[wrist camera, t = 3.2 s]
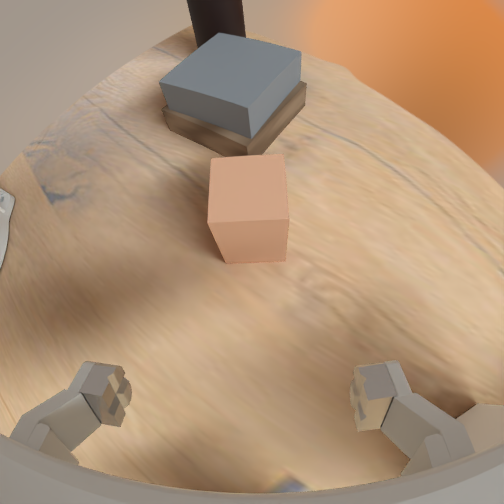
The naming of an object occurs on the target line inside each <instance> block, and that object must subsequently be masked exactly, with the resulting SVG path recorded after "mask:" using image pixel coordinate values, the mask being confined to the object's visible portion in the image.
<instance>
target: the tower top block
mask: <svg viewBox="0 0 504 504" xmlns="http://www.w3.org/2000/svg"><path fill="white" fill-rule="evenodd" d="M300 74H301V52H300V51H297V50H294V49H290V48H286V47H283V46H279V45H275V44H271V43H267V42H263V41H259V40H254V39H250V38H245V37H240V36H235V35H229V34H224V33H218V34H216V35H215V36H214V37H212V38H211V39H210V40H208V41H207V42H206V43H204V44H203V45H202V46H201V47H199V48H198V49H197V50H195V51H194V52H193V53H192V54H191V55H189V56H188V57H187V58H186V59H184V60H183V61H182V62H181V63H180V64H178V65H177V66H176V67H175V68H174V69H173V70H171V71H170V72H169V73H168V74H167V75H166V76H165V77H164V78H162V79H161V80H160V81H159V84H160V86H161V89H162V92H163V94H164V97H165V99H166V102H167V105H168V107H169V109H170V110H173V111H176V112H179V113H182V114H185V115H188V116H191V117H194V118H197V119H199V120H202V121H205V122H208V123H211V124H213V125H216V126H219V127H221V128H224V129H227V130H229V131H232V132H235V133H237V134H240V135H242V136H245V137H247V138H250V139H252V138H253V137H254V135H255V134H256V133H257V132H258V130H259V129H260V128H261V127H262V126H263V124H264V123H265V122H266V121H267V119H268V118H269V117H270V116H271V115H272V113H273V112H274V111H275V110H276V109H277V107H278V106H279V105H280V104H281V103H282V101H283V100H284V99H285V98H286V97H287V95H288V94H289V93H290V92H291V91H292V90H293V88H294V87H295V86H296V85H297V84H298V83H299V82H300Z"/></svg>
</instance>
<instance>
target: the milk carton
mask: <svg viewBox="0 0 504 504" xmlns="http://www.w3.org/2000/svg"><path fill="white" fill-rule="evenodd" d="M456 420H457V421H459V422H460V423H462V424H463V425H464V427H465V429H466V431H467V433H468V436H469V438H470V440H471V443H472V445H473V447H474V450H475V452H478V451H481V450H483V449H485V448H488V447H490V446H492V445H494V444H497V443H499V442H501V441H503V440H504V405H493V404H481V403H478V404H476V405H475V406H474V407H472V408H471V409H469V410H468V411H467V412H465V413H464V414H462V415H461V416H459V417H458V418H456Z"/></svg>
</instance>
